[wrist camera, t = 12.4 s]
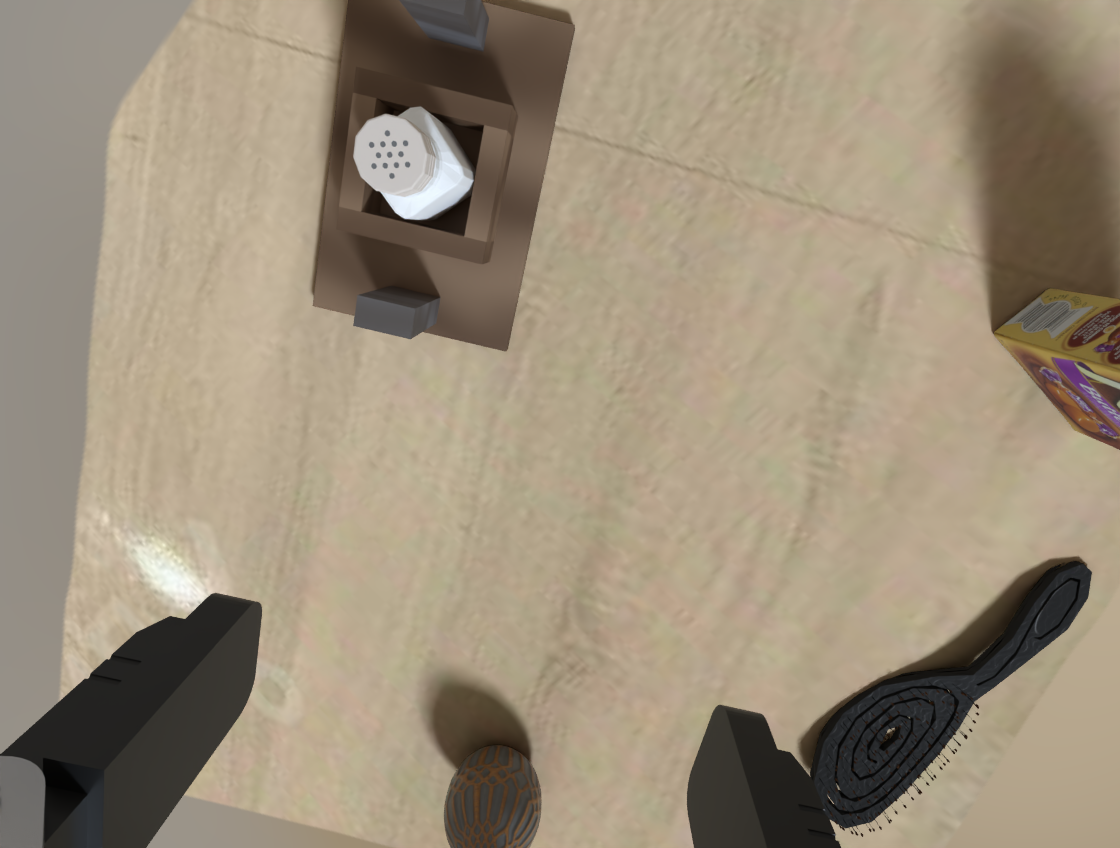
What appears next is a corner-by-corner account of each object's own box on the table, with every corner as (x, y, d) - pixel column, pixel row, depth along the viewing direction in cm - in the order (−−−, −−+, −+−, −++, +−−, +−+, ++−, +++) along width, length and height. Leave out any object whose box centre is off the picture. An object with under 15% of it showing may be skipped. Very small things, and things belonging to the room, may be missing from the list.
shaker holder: (357, -26, 34) (304, -87, 28) (574, 29, 35) (572, -18, 28) (318, 304, 39) (265, 318, 33) (507, 349, 40) (492, 372, 33)
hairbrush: (1155, 617, 41) (878, 861, 46) (1107, 589, 45) (855, 818, 50) (1068, 544, 40) (794, 803, 45) (1027, 521, 43) (777, 763, 48)
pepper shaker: (430, 225, 37) (380, 222, 28) (389, 162, 36) (324, 139, 27) (487, 186, 36) (454, 170, 27) (446, 121, 35) (399, 82, 26)
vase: (472, 809, 50) (451, 923, 42) (442, 740, 49) (413, 846, 40) (555, 790, 50) (550, 903, 41) (527, 720, 48) (516, 824, 39)
